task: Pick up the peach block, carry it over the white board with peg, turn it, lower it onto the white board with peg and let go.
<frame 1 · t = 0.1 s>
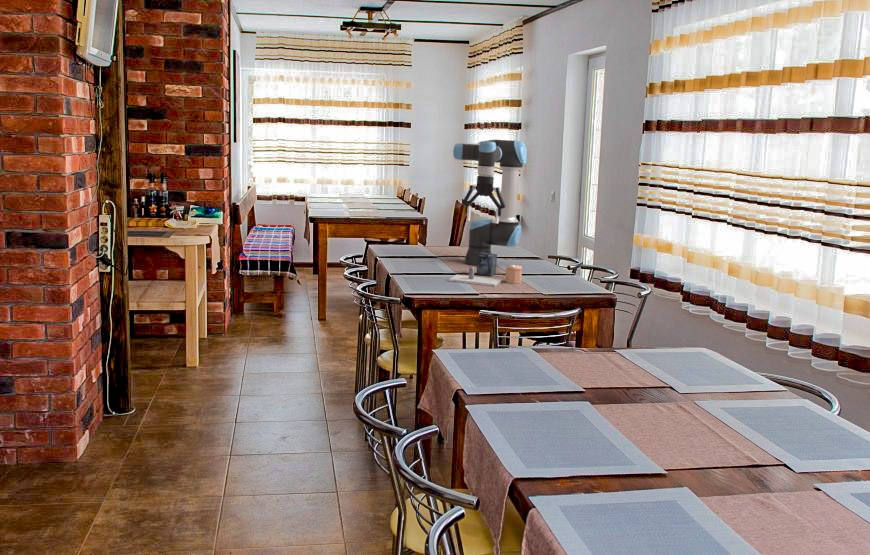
hand: (482, 222, 389), 28 cm above the table, fingers open, 13 cm apart
box: (486, 275, 412), on the table
peach block: (513, 282, 397), on the table
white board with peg: (475, 281, 394), on the table
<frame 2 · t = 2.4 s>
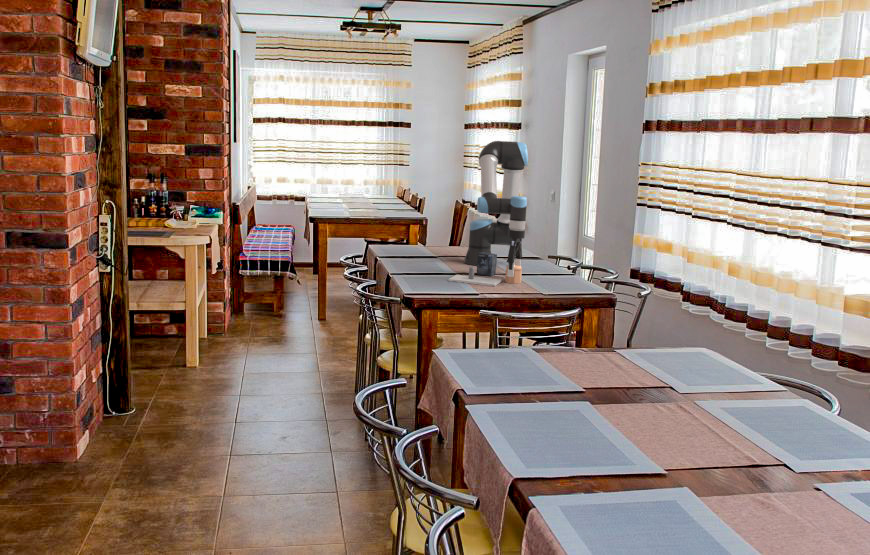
hand: (513, 274, 396), 4 cm above the table, fingers open, 13 cm apart
nothing on the table moved.
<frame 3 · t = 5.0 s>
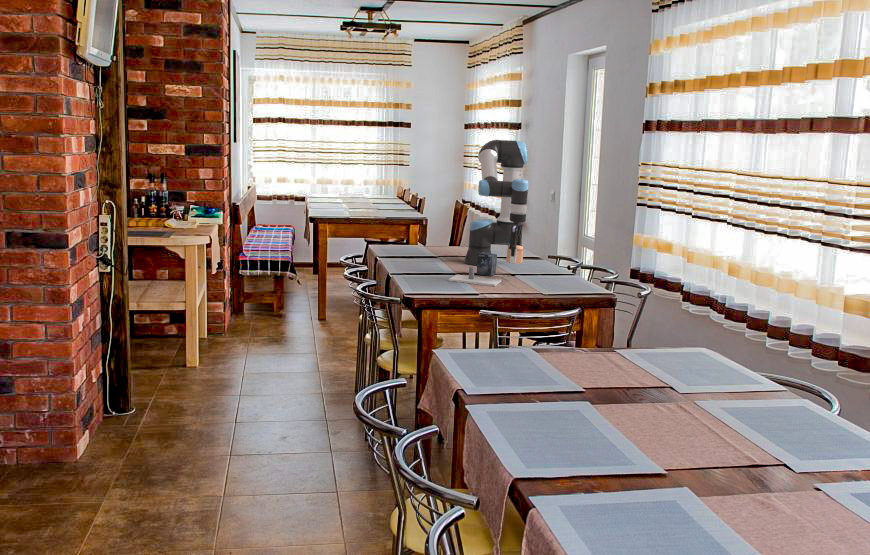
hand: (514, 261, 396), 10 cm above the table, fingers closed on peach block, 7 cm apart
peach block: (514, 262, 396), point 9 cm above the table, touching gripper
everything else where it was.
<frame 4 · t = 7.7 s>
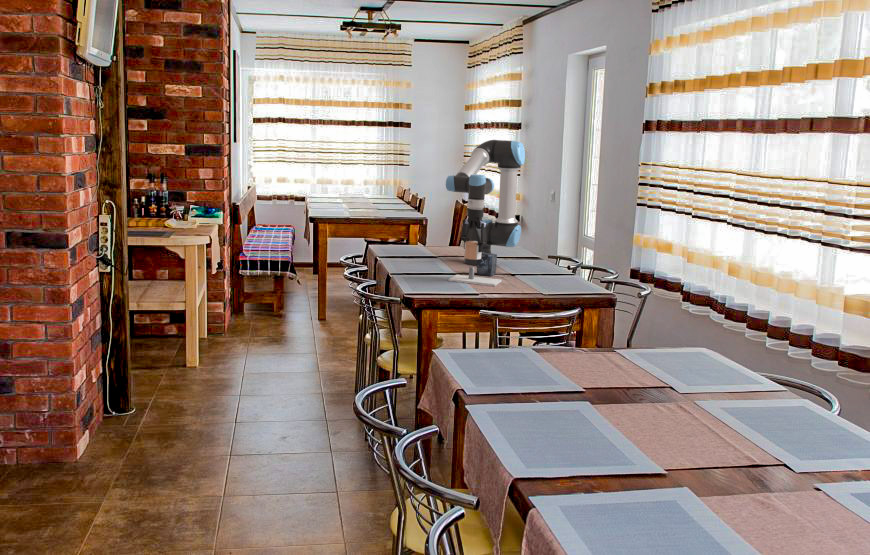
hand: (472, 257, 392), 11 cm above the table, fingers closed on peach block, 7 cm apart
peach block: (472, 258, 392), point 11 cm above the table, touching gripper
everything else where it was.
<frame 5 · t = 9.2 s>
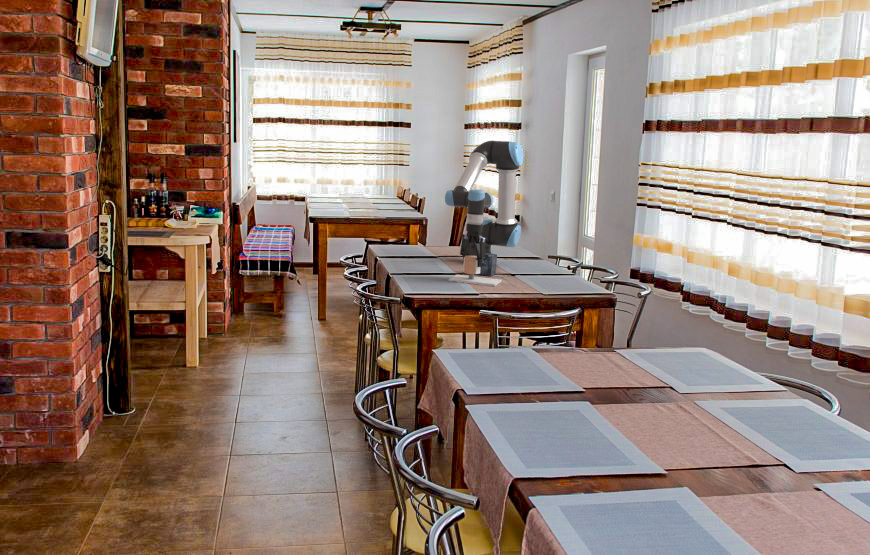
hand: (471, 272, 393), 4 cm above the table, fingers closed on peach block, 7 cm apart
peach block: (471, 272, 393), point 4 cm above the table, touching gripper
everything else where it was.
when the fingers open (2 cm above the table, at t = 10.5 s): peach block drops 1 cm, resting on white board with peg.
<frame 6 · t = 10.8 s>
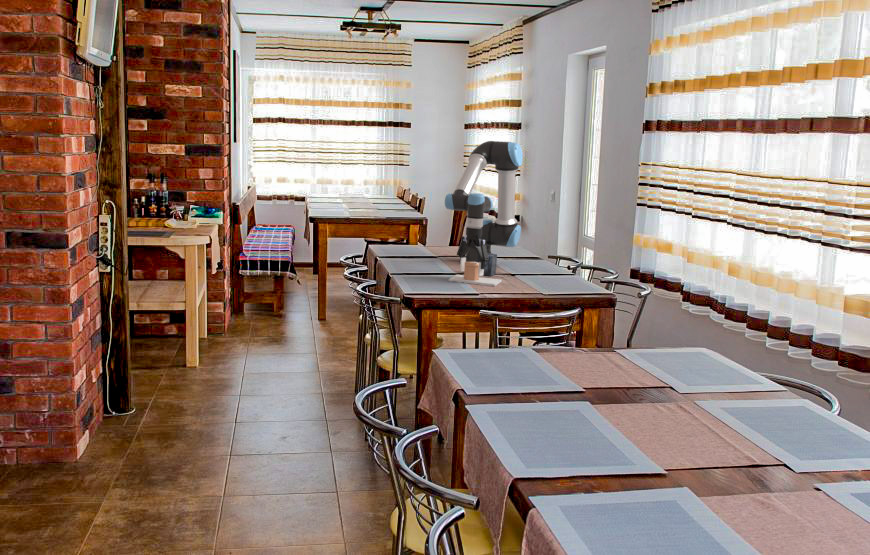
hand: (471, 273, 394), 3 cm above the table, fingers open, 11 cm apart
peach block: (471, 278, 394), point 1 cm above the table, touching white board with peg
everything else where it was.
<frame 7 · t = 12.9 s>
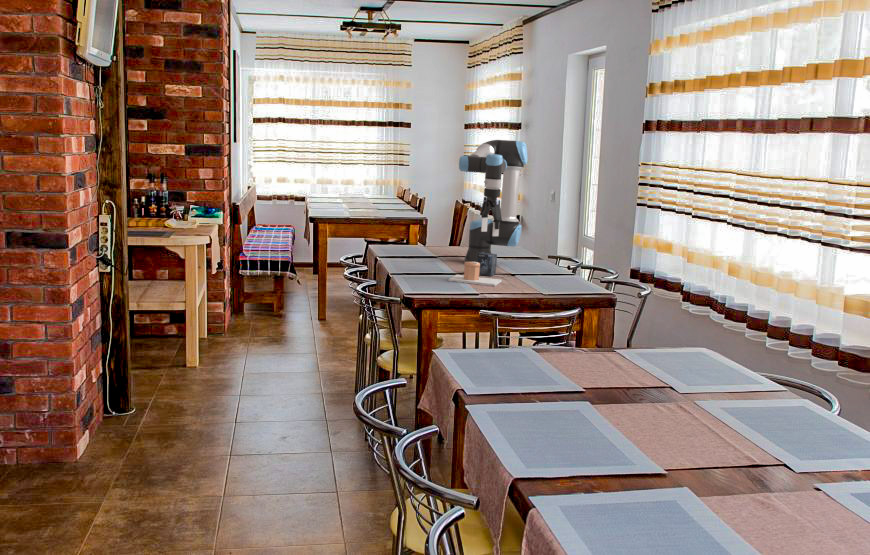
hand: (489, 233, 394), 22 cm above the table, fingers open, 13 cm apart
nothing on the table moved.
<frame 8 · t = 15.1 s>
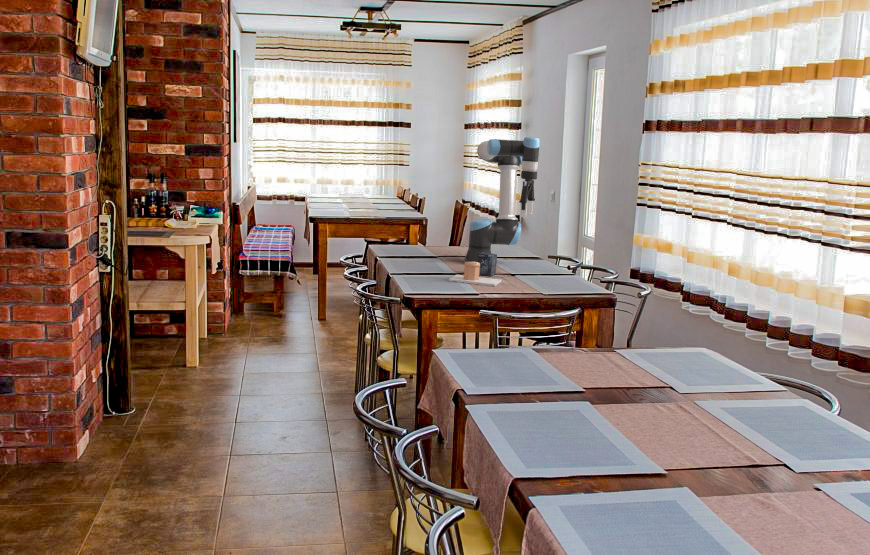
hand: (526, 215, 400), 31 cm above the table, fingers open, 13 cm apart
nothing on the table moved.
at the end: peach block 0.1 cm from the target spot on the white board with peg, point 1.1 cm above the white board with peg's base; peach block tilted 1°; the gripper is holding nothing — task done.
